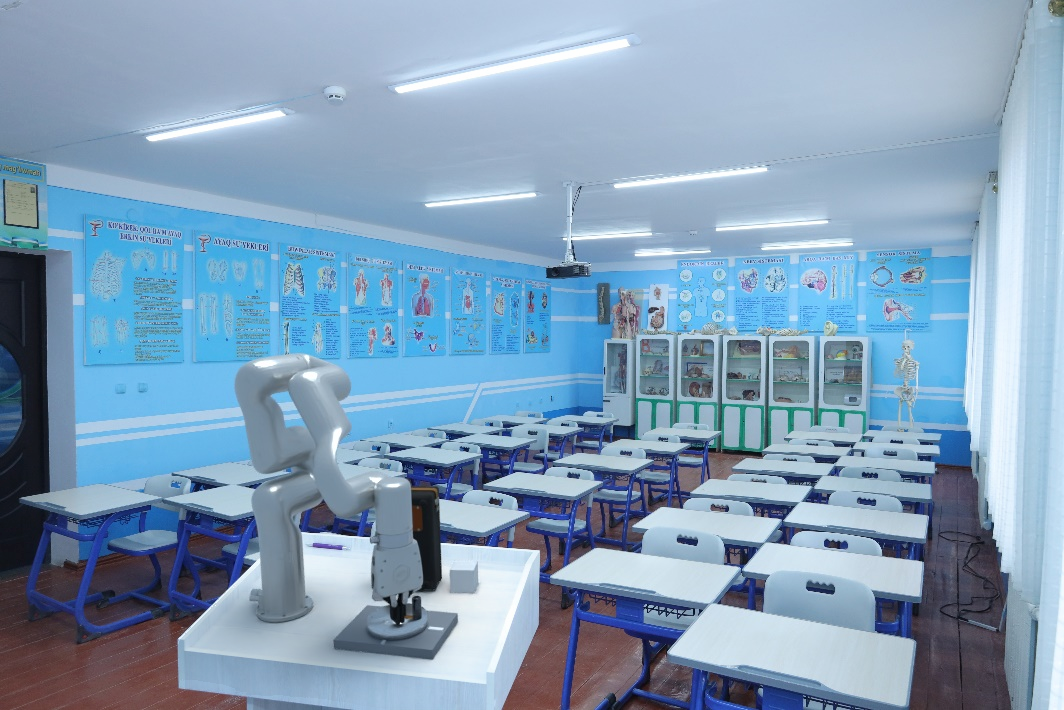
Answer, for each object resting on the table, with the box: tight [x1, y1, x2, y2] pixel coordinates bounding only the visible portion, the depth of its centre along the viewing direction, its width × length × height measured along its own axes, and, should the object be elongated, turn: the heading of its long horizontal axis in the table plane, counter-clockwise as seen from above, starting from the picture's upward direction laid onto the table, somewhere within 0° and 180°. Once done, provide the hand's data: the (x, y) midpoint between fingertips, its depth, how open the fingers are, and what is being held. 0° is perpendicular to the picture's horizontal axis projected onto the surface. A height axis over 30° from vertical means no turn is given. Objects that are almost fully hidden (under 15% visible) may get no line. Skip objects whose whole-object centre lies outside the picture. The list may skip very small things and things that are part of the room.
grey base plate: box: [332, 604, 459, 660], centre depth 155 cm, size 22×16×2 cm
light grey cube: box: [449, 559, 479, 594], centre depth 177 cm, size 6×6×6 cm
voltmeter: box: [411, 485, 443, 591], centre depth 178 cm, size 16×9×25 cm, turn 84°
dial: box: [367, 595, 428, 640], centre depth 154 cm, size 13×13×6 cm
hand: (398, 621), depth 150 cm, fingers closed
